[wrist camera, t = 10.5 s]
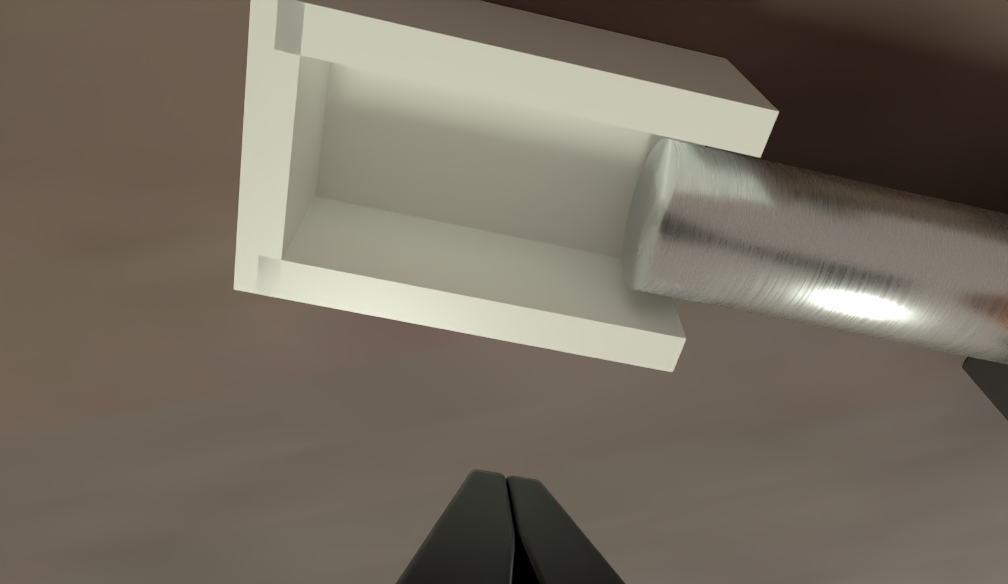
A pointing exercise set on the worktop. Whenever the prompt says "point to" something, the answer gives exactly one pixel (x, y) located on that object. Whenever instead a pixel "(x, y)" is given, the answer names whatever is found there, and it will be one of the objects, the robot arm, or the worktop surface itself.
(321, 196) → the open tray
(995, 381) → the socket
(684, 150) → the tube
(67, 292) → the worktop surface
